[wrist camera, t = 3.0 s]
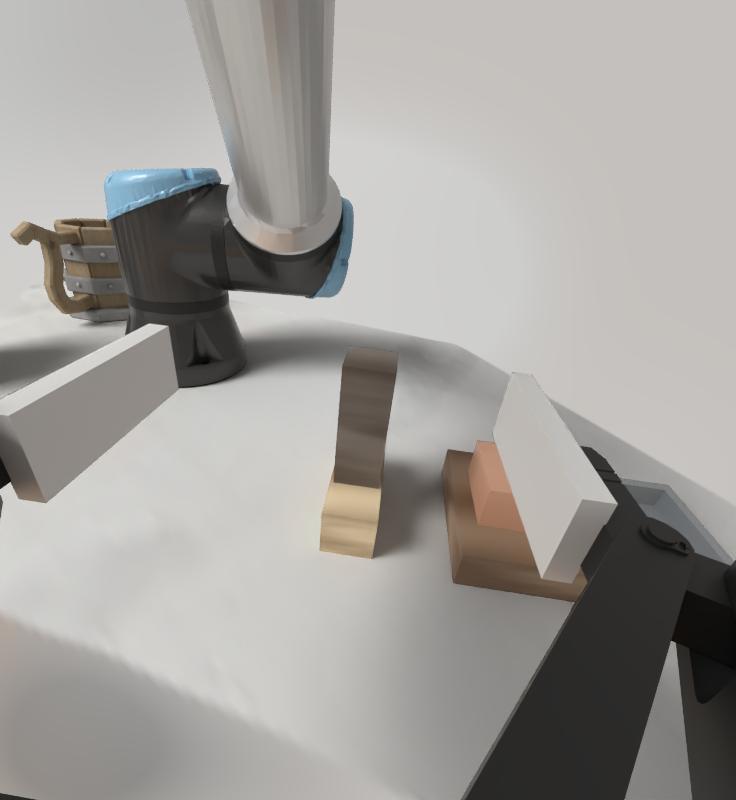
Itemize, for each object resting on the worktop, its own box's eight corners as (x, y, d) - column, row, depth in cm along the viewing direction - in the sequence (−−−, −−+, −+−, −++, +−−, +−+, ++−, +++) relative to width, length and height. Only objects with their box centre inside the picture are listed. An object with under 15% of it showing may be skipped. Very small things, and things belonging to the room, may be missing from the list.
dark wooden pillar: (340, 465, 37) (352, 330, 30) (380, 471, 37) (402, 336, 30) (319, 551, 29) (329, 388, 22) (371, 559, 28) (398, 398, 21)
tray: (552, 489, 37) (561, 470, 36) (655, 504, 37) (668, 485, 36) (607, 606, 27) (622, 585, 26) (750, 628, 27) (773, 608, 25)
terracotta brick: (467, 472, 34) (477, 440, 32) (535, 482, 33) (549, 450, 32) (477, 524, 28) (490, 490, 27) (558, 537, 28) (576, 502, 26)
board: (441, 473, 38) (447, 449, 36) (542, 487, 37) (552, 464, 36) (453, 582, 27) (462, 555, 26) (593, 604, 27) (610, 578, 26)
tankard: (109, 295, 73) (88, 208, 66) (170, 305, 72) (156, 218, 64) (5, 328, 56) (-39, 216, 48) (82, 342, 55) (49, 229, 47)
